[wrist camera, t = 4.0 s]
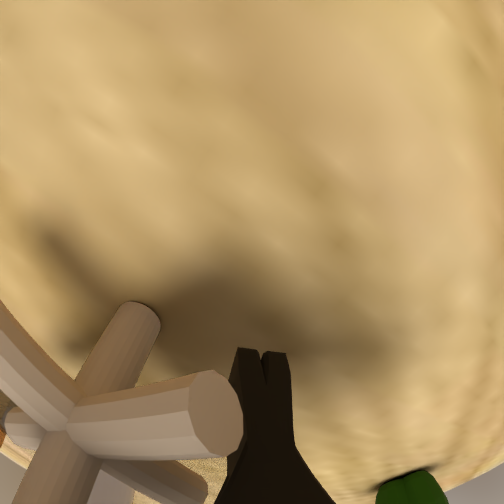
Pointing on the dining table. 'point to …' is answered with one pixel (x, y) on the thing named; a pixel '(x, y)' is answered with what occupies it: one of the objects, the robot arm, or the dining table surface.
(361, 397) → the dining table surface
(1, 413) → the motor mount
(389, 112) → the dining table surface
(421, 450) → the dining table surface
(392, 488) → the bell pepper
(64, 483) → the pipe connector
